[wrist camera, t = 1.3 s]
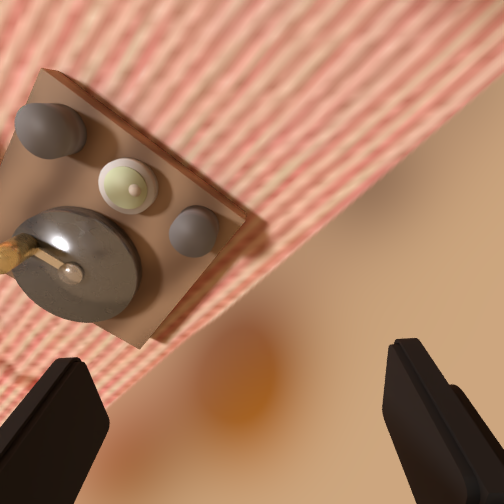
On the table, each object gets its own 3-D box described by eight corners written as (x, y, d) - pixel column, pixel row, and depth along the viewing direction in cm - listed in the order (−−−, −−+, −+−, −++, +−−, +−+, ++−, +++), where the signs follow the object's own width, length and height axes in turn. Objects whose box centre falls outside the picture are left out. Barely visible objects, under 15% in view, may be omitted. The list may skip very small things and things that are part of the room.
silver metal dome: (5, 270, 35) (-43, 301, 30) (50, 179, 31) (4, 195, 25) (108, 330, 38) (83, 367, 33) (164, 255, 34) (145, 283, 28)
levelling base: (-17, 241, 37) (-61, 262, 32) (58, 70, 29) (16, 63, 24) (146, 336, 42) (130, 367, 37) (246, 213, 34) (243, 231, 29)
